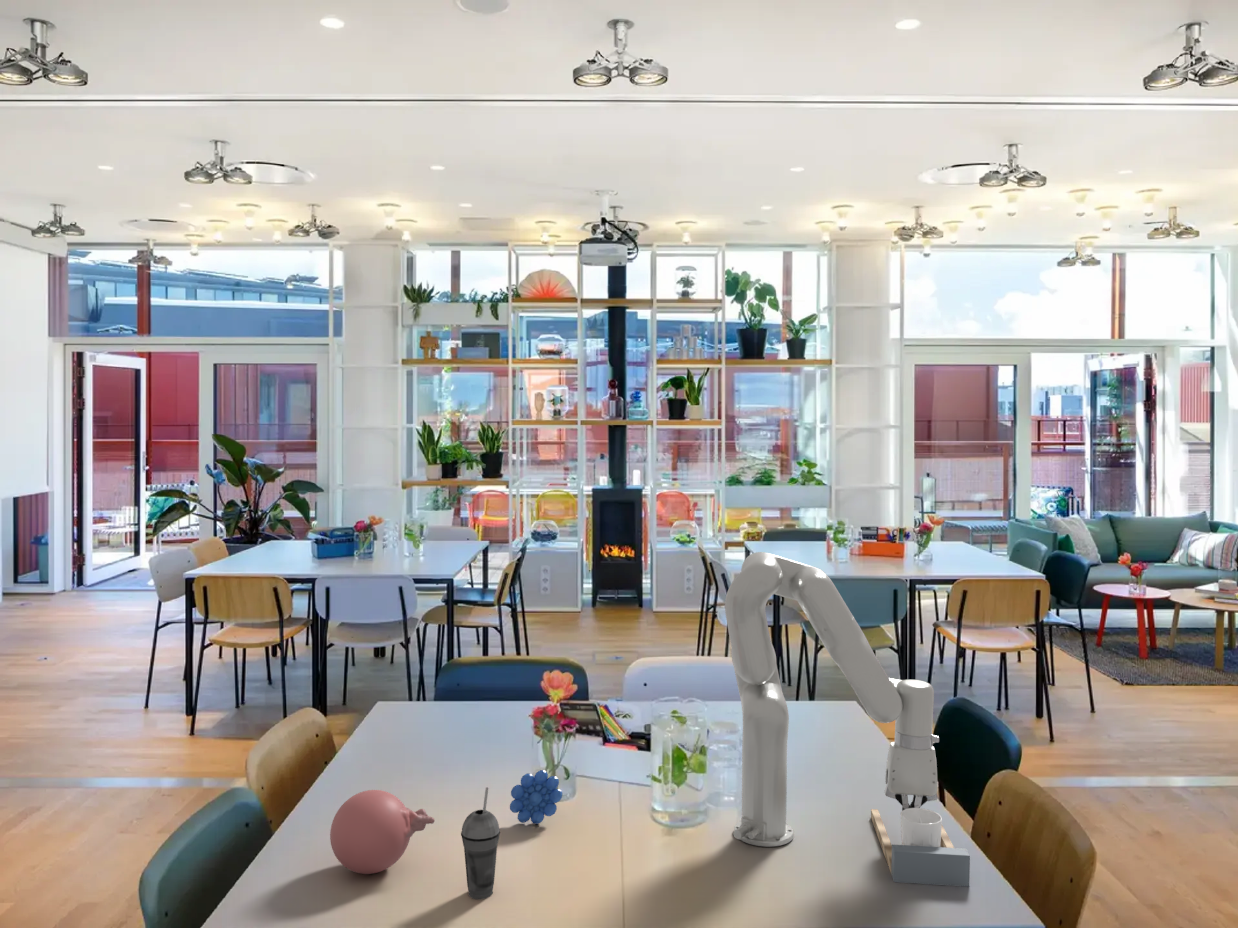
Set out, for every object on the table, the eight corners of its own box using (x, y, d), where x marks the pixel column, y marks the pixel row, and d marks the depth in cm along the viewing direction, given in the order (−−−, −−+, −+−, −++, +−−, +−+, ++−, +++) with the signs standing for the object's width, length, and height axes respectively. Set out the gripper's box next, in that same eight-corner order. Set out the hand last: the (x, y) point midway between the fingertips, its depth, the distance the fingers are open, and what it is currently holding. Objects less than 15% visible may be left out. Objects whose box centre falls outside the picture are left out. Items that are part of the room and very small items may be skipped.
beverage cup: (462, 884, 177) (462, 780, 177) (501, 882, 178) (501, 779, 177) (459, 903, 170) (459, 795, 169) (499, 902, 171) (499, 794, 170)
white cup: (937, 877, 181) (938, 826, 181) (896, 868, 185) (896, 818, 184) (944, 861, 188) (945, 812, 188) (904, 852, 192) (905, 804, 191)
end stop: (969, 886, 178) (969, 855, 177) (894, 881, 179) (894, 851, 179) (965, 878, 180) (966, 848, 180) (891, 874, 182) (891, 844, 182)
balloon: (428, 887, 176) (427, 807, 175) (320, 889, 175) (320, 808, 174) (440, 850, 191) (439, 777, 191) (341, 852, 190) (341, 778, 190)
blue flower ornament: (563, 815, 209) (564, 763, 209) (561, 828, 202) (561, 774, 202) (512, 815, 209) (512, 762, 209) (508, 828, 202) (508, 773, 202)
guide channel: (965, 878, 180) (965, 868, 180) (891, 874, 182) (891, 864, 182) (935, 821, 207) (935, 812, 207) (870, 817, 209) (871, 808, 209)
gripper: (945, 736, 199) (942, 820, 200) (874, 731, 201) (870, 815, 202) (953, 748, 192) (950, 835, 193) (879, 743, 194) (876, 829, 194)
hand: (909, 824), depth 197 cm, fingers closed
